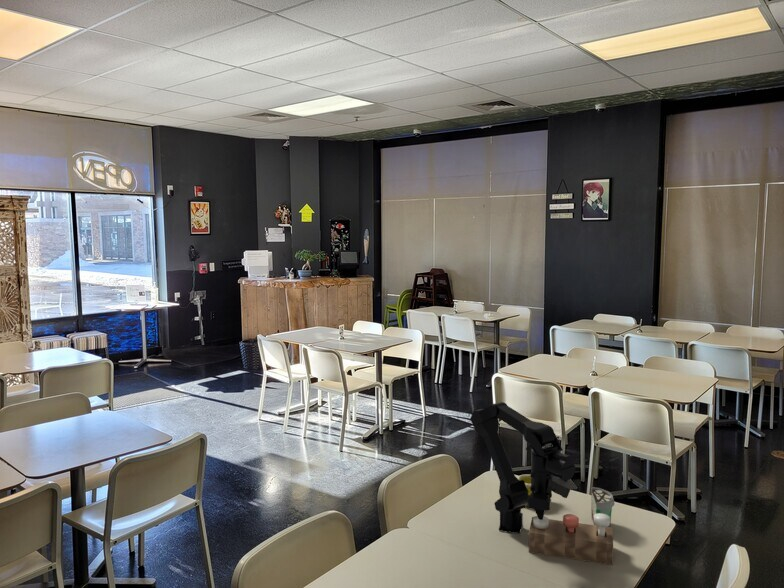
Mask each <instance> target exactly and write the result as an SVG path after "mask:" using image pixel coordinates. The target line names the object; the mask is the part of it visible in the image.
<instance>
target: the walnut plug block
mask: <svg viewBox="0 0 784 588" xmlns="http://www.w3.org/2000/svg"><path fill="white" fill-rule="evenodd" d="M534 517H535V516H532V517H531V522H530V525H529V531H528V553H532V554H539V555H546V556H551V557H559V558H565V559H572V560H578V561H585V562H591V563H599V564H603V565H604V564H605V565H611V566H613V565H614V537H613V527H611V526H610V527H605V537H601V536H598V526H596V525H593V524H589V523H580V522H579V526H578V527H576V528H574V533H572V532H568V527H566V526H564V525H563V520H558V519H552V518H551V519H550V518H548V519H549V527H548V528H547V529H538V528H536V527H534V526H533V518H534Z"/></svg>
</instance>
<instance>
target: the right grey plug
mask: <svg viewBox="0 0 784 588" xmlns="http://www.w3.org/2000/svg"><path fill="white" fill-rule="evenodd" d="M594 524H595V525H596V526H598V536H601V537H605V527H609V526H610V527H611V522H610V517H609V516H608V515H606V514H601V513H597V514H595V515H594Z"/></svg>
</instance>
